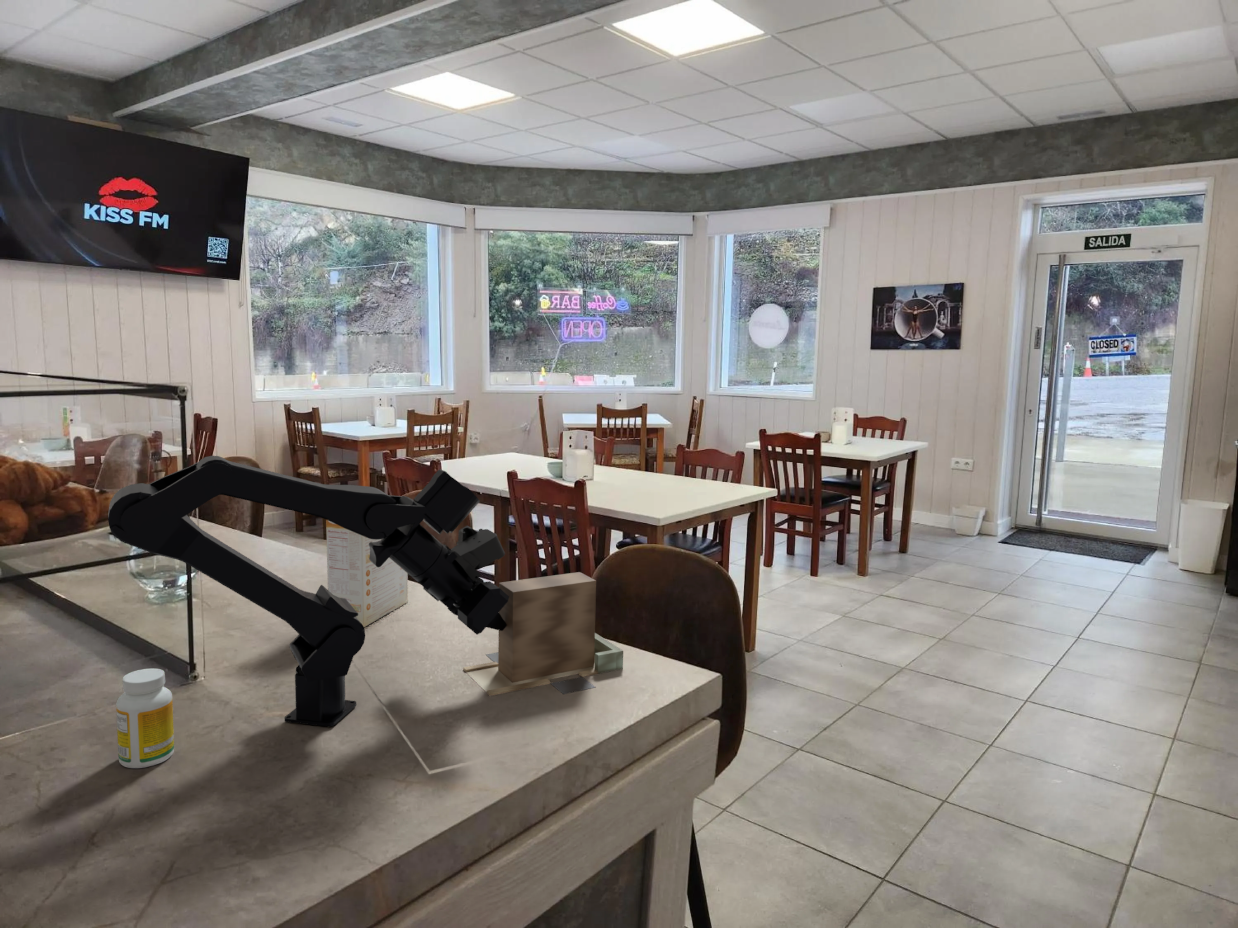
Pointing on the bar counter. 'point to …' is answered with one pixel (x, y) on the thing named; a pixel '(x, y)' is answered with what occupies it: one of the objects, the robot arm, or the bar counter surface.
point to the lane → (497, 683)
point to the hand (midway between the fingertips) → (503, 627)
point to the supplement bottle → (144, 719)
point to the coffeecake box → (362, 575)
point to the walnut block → (547, 626)
